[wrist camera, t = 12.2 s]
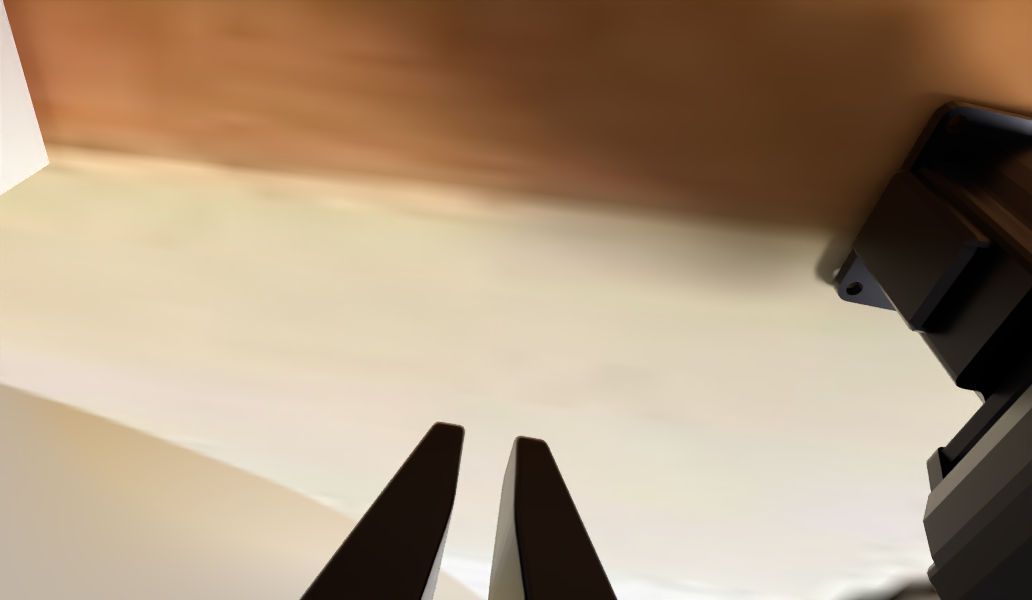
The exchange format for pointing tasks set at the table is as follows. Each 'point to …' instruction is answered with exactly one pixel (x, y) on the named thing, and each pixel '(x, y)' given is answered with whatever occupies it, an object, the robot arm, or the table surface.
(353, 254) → the table surface
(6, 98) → the cabinet door
